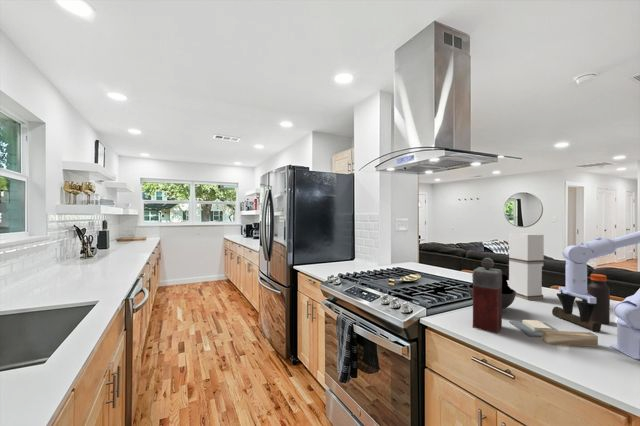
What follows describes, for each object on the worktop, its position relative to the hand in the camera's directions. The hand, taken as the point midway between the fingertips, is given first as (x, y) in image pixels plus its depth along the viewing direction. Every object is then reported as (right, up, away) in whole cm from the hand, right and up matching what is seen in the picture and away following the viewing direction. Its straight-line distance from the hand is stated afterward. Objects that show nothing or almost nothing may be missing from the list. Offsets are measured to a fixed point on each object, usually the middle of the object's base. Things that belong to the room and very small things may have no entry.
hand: (576, 317), depth 101 cm
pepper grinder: (-22, -9, +15) cm, 29 cm away
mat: (-5, -9, +12) cm, 16 cm away
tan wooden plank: (-2, -10, 0) cm, 10 cm away
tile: (-5, -8, +9) cm, 13 cm away
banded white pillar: (+24, -10, +58) cm, 64 cm away
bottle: (+29, -10, +21) cm, 37 cm away
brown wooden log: (+16, -10, +19) cm, 27 cm away
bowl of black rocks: (-9, -10, +36) cm, 38 cm away
